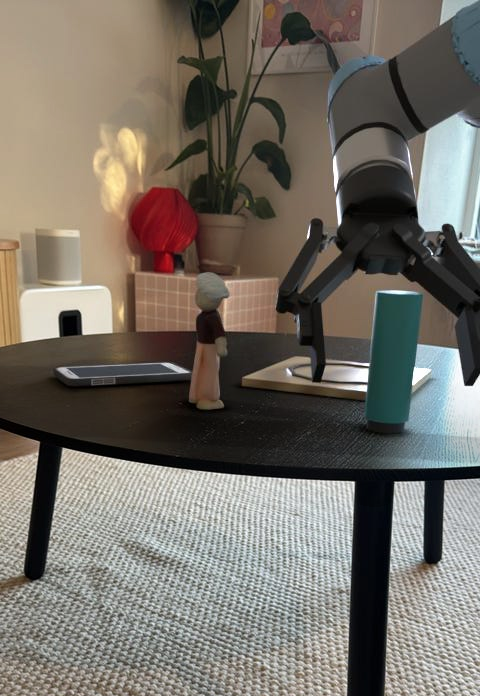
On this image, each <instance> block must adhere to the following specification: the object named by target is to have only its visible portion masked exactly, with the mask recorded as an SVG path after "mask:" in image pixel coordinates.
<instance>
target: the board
mask: <svg viewBox="0 0 480 696" xmlns="http://www.w3.org/2000/svg"><path fill="white" fill-rule="evenodd" d="M325 359H326V366H325V369H324V373H323V376H322V380H321V383H312V374H311V359H310V356H309V357H307V356H299V355H295V356H292V357H290V358H288V359H285V360H282V361H280V362H277V363H275V364H273V365H270V366H267V367H265V368H262V369H260V370H257V371H255V372H253V373H252V372H251V373H250V374H246V375H245V376H242V377H241V386H242V387H246V388H247V387H248V388H253V389H254V388H255V389H263V390H264V389H265V390H273V391H280V392H289V393H298V394H305V395H312V396H313V395H314V396H323V397H329V398H330V397H331V398H340V399H347V400H356V401H363V402H365V401H366V391H367V380H368V370H369V362H368V363H367V362H358V361H357V362H356V361H348V360H339V359H338V360H336V359H330V358H329V359H328V358H325ZM431 375H432V369H429V368H428V369H427V368H418V367H417V368H416V367H415V370H414V378H413V387H412V394H413V393H415V392H416V391H417V390H418V389H419V388H420V387H422V386H423V384H425V383H426V382H428V380H429V379H430V378H431Z"/></svg>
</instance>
